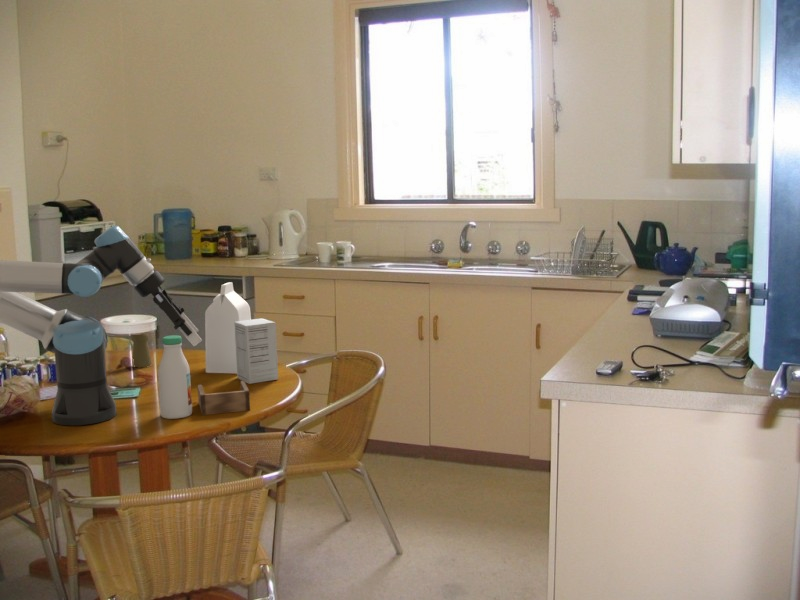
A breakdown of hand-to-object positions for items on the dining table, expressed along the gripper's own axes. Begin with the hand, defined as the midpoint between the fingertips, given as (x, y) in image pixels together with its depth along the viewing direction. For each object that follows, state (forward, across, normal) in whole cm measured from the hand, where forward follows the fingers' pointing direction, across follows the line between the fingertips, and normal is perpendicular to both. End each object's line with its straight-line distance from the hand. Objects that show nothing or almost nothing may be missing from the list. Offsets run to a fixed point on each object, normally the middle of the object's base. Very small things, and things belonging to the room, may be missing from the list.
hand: (196, 338), depth 241 cm
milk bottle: (+8, -19, +15) cm, 26 cm away
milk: (+19, +27, 0) cm, 33 cm away
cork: (+4, +40, +21) cm, 45 cm away
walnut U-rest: (+15, -15, +5) cm, 22 cm away
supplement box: (+23, +11, -5) cm, 25 cm away
